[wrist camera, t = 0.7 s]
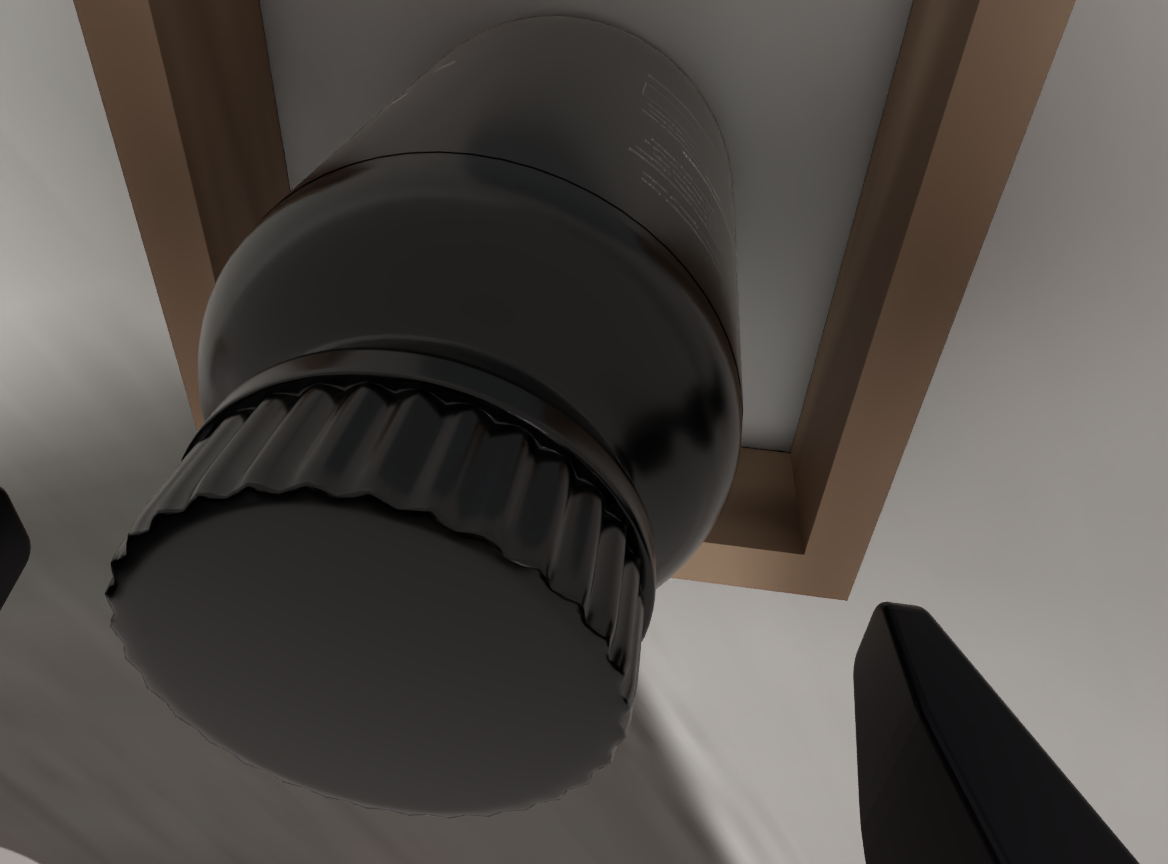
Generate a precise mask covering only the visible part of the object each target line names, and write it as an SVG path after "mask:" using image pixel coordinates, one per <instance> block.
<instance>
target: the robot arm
mask: <svg viewBox="0 0 1168 864" xmlns="http://www.w3.org/2000/svg"><path fill="white" fill-rule="evenodd" d="M30 549H31V545H30V539H29V536H28V534H27V532H26V530H25V528H24V526H23V524H22V522H21V520H20V518H19V516H18V514H17V512H16V510H15V508H14V506H13V504H12V502H11V500H10V498H9V496H8V494H7V493H6V491H5V490H4V489H3V488H2V487H0V610H1V608H2V606H3V605H4V603H5V601H6V599H7V598H8V596H9V594H10V592H11V590H12V589H13V587H14V585H15V583H16V582H17V580H18V578H19V576H20V574H21V573H22V571H23V569H24V567H25V565H26V563H27V561H28V559H29V555H30ZM853 679H854V701H855V722H856V744H857V765H858V786H859V806H860V821H861V832H862V839H863V847H864V854H865V861H866V864H1139V862H1138V861H1137V860H1136V859H1135V858H1134V856H1133V855H1132V854H1131V853H1130V852H1129V851H1128V849H1127V848H1126V847H1125V846H1124V845H1123V843H1122V842H1121V841H1120V840H1119V839H1118V837H1117V836H1116V835H1115V834H1114V833H1113V831H1112V830H1111V829H1110V828H1109V827H1108V825H1107V824H1106V823H1105V822H1104V821H1103V820H1102V818H1101V817H1100V816H1099V815H1098V814H1097V812H1096V811H1095V810H1094V809H1093V808H1092V806H1091V805H1090V804H1089V803H1088V802H1087V800H1086V799H1085V798H1084V797H1083V796H1082V794H1081V793H1080V792H1079V791H1078V790H1077V789H1076V787H1075V786H1074V785H1073V784H1072V783H1071V781H1070V780H1069V779H1068V778H1067V777H1066V775H1065V774H1064V773H1063V772H1062V771H1061V769H1060V768H1059V767H1058V766H1057V765H1056V763H1055V762H1054V761H1053V760H1052V759H1051V757H1050V756H1049V755H1048V754H1047V753H1046V752H1045V750H1044V749H1043V748H1042V747H1041V746H1040V744H1039V743H1038V742H1037V741H1036V740H1035V738H1034V737H1033V736H1032V735H1031V734H1030V732H1029V731H1028V730H1027V729H1026V728H1025V726H1024V725H1023V724H1022V723H1021V722H1020V721H1019V719H1018V718H1017V717H1016V716H1015V715H1014V713H1013V712H1012V711H1011V710H1010V709H1009V707H1008V706H1007V705H1006V704H1005V703H1004V701H1003V700H1002V699H1001V698H1000V697H999V695H998V694H997V693H996V692H995V691H994V690H993V688H992V687H991V686H990V685H989V684H988V682H987V681H986V680H985V679H984V678H983V676H982V675H981V674H980V673H979V672H978V670H977V669H976V668H975V667H974V666H973V664H972V663H971V662H970V661H969V660H968V658H967V657H966V656H965V655H964V654H963V653H962V651H961V650H960V649H959V648H958V647H957V645H956V644H955V643H954V642H953V641H952V639H951V638H950V637H949V636H948V635H947V633H946V632H945V631H944V630H943V629H942V627H941V626H940V625H939V624H938V623H937V622H936V620H935V619H934V618H933V617H932V616H931V614H930V613H929V612H928V611H926V610H925V609H924V608H922V607H919V606H915V605H907V604H900V603H892V602H882V603H880V604H879V605H878V606H877V607H876V608H875V610H874V612H873V614H872V617H871V619H870V622H869V624H868V627H867V629H866V631H865V634H864V636H863V639H862V641H861V644H860V646H859V648H858V651H857V654H856V657H855V662H854V673H853Z"/></svg>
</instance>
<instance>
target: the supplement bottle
mask: <svg viewBox="0 0 1168 864" xmlns="http://www.w3.org/2000/svg"><path fill="white" fill-rule="evenodd" d="M198 385H199V395H200V405H201V409H202V414H203V419H204V424H203V425H202V426H201V428H200V429H199V430H198V431H197V433H196V434H195V435H194V437H193V438H192V440H191V441H190V443H189V445H188V447H187V448H186V450H185V452H184V455H183V457H182V459H181V462H180V464H179V465H178V467H177V468H176V469H175V470H174V471H173V473H172V474H171V475H170V476H169V477H168V479H167V480H166V481H165V482H164V483H163V485H162V486H161V487H160V488H159V489H158V491H157V492H156V493H155V494H154V496H153V497H152V498H151V499H150V500H149V502H148V503H147V504H146V505H145V507H144V508H143V509H142V510H141V512H140V513H139V514H138V516H137V517H136V519H135V520H134V522H133V524H132V526H131V529H130V531H129V533H128V535H127V536H126V537H125V538H124V540H123V541H122V542H121V544H120V545H119V547H118V548H117V550H116V552H115V554H114V556H113V559H112V561H111V569H112V575H113V577H112V579H111V581H110V583H109V585H108V587H107V589H106V592H105V596H106V598H107V601H108V603H109V605H110V607H111V609H112V611H113V613H114V614H113V616H112V618H111V624H110V627H111V628H112V630H113V631H114V632H115V634H116V635H117V636H118V637H119V639H120V640H121V641H122V643H123V644H124V655H125V659H126V660H127V661H128V662H129V663H130V664H131V665H132V666H134V667H135V668H136V669H137V670H138V671H139V672H140V673H141V674H142V677H143V680H144V682H145V685H146V687H147V689H149V690H150V691H151V692H153V693H154V694H155V695H156V696H158V697H159V698H160V699H162V700H163V701H164V702H166V703H167V705H168V707H169V708H170V710H171V711H172V713H173V714H174V715H175V717H177V718H179V719H180V720H182V721H184V722H185V723H187V724H188V725H190V726H192V727H193V728H195V729H196V730H197V731H198V732H199V733H200V734H201V735H202V736H203V737H204V738H205V739H206V740H207V741H208V742H210V743H212V744H214V745H216V746H218V747H220V748H222V749H224V750H226V751H228V752H230V753H231V754H233V755H234V756H235V757H236V758H238V759H239V760H240V761H242V762H243V763H244V764H246V765H249V766H252V767H254V768H257V769H260V770H262V771H265V772H267V773H269V774H271V775H272V776H274V777H276V778H277V779H279V780H281V781H282V782H284V783H287V784H291V785H294V786H298V787H302V788H306V789H308V790H310V791H312V792H314V793H316V794H319V795H321V796H323V797H325V798H330V799H336V800H342V801H347V802H350V803H353V804H355V805H358V806H361V807H364V808H367V809H378V810H389V811H392V812H396V813H400V814H404V815H408V816H415V815H431V816H437V817H443V818H450V819H451V818H456V817H461V816H484V817H491V816H494V815H497V814H499V813H501V812H507V811H526V810H528V809H530V808H532V807H533V806H534V805H536V804H537V803H542V802H549V801H555V800H559V799H561V798H562V797H563V796H564V795H565V793H566V792H567V791H568V790H570V789H574V788H577V787H580V786H583V785H586V784H588V783H589V781H590V780H591V778H592V775H593V772H595V771H597V770H599V769H602V768H604V767H605V766H607V765H609V764H611V762H612V759H613V757H614V754H615V750H616V746H617V745H618V744H620V743H621V742H622V741H623V740H624V739H625V738H626V736H627V733H628V730H629V728H630V724H631V719H632V712H633V702H634V697H635V694H636V689H637V682H638V672H639V662H640V651H641V642H642V641H643V639H644V637H645V634H646V632H647V629H648V627H649V624H650V620H651V617H652V612H653V607H654V601H655V590H656V589H657V588H658V587H660V586H661V585H662V584H663V583H665V582H666V581H667V580H668V579H670V578H671V577H672V576H673V575H674V574H675V573H676V572H677V571H678V570H679V569H680V568H681V567H682V566H683V565H684V564H685V563H686V562H687V561H688V560H689V559H690V558H691V557H692V555H693V554H694V553H695V552H696V550H697V549H698V548H699V547H700V545H701V544H702V543H703V542H704V540H705V539H706V538H707V536H708V535H709V533H710V531H711V530H712V528H713V526H714V525H715V523H716V522H717V520H718V518H719V517H720V515H721V513H722V510H723V508H724V506H725V504H726V502H727V500H728V497H729V494H730V492H731V488H732V485H733V482H734V479H735V476H736V472H737V467H738V462H739V456H740V449H741V434H742V417H743V395H742V372H741V349H740V326H739V304H738V281H737V258H736V236H735V213H734V197H733V187H732V176H731V170H730V164H729V159H728V155H727V152H726V148H725V144H724V141H723V138H722V135H721V133H720V130H719V128H718V125H717V122H716V120H715V118H714V116H713V115H712V113H711V111H710V109H709V107H708V105H707V103H706V102H705V100H704V99H703V97H702V96H701V94H700V93H699V91H698V90H697V89H696V87H695V86H694V85H693V84H692V82H691V81H690V80H689V79H688V77H687V76H686V75H685V74H684V73H683V72H682V71H681V70H680V69H679V68H678V67H677V66H676V65H675V64H674V63H673V62H672V61H670V60H669V59H668V58H667V57H666V56H664V55H663V54H662V53H661V52H660V51H658V50H657V49H655V48H654V47H652V46H651V45H649V44H648V43H646V42H645V41H643V40H641V39H639V38H637V37H635V36H633V35H632V34H630V33H628V32H626V31H623V30H621V29H618V28H616V27H613V26H610V25H608V24H604V23H600V22H597V21H593V20H589V19H583V18H576V17H567V16H541V17H531V18H525V19H519V20H515V21H512V22H508V23H505V24H501V25H498V26H496V27H494V28H491V29H489V30H486V31H484V32H482V33H480V34H478V35H476V36H474V37H472V38H471V39H469V40H467V41H465V42H464V43H462V44H461V45H459V46H458V47H457V48H455V49H454V50H453V51H451V52H450V53H449V54H447V55H446V56H445V57H443V58H442V59H441V60H440V61H438V62H437V63H436V64H435V65H433V66H432V67H431V68H430V69H429V70H428V71H427V72H426V73H424V74H423V75H422V76H421V77H420V78H419V79H418V80H416V81H415V82H414V83H413V84H412V85H411V86H410V87H409V88H407V89H406V90H405V91H404V92H403V93H402V94H401V95H399V96H398V97H397V98H396V99H395V100H394V101H393V102H392V103H390V104H389V105H388V106H387V107H386V108H385V109H384V110H383V111H381V112H380V113H379V114H378V115H377V116H376V117H375V118H373V119H372V120H371V121H370V122H369V123H368V124H367V125H366V126H364V127H363V128H362V129H361V130H360V131H359V132H358V133H356V134H355V135H354V136H353V137H352V138H351V139H350V140H349V141H347V142H346V143H345V144H344V145H343V146H342V147H341V148H340V149H338V150H337V151H336V152H335V153H334V154H333V155H332V156H330V157H329V158H328V159H327V160H326V161H325V162H324V163H323V164H321V165H320V166H319V167H318V168H317V169H316V170H315V171H314V172H312V173H311V174H310V175H309V176H308V177H307V178H306V179H304V180H303V181H302V182H301V183H300V184H299V185H298V186H297V187H295V188H294V189H293V190H292V191H291V192H290V193H289V194H288V195H287V196H285V197H284V198H283V199H282V200H281V201H280V202H279V203H278V204H277V205H276V206H275V207H273V208H272V209H271V210H270V211H269V212H268V213H267V214H266V215H265V216H264V217H263V218H262V219H261V220H260V222H259V223H258V224H256V226H255V227H254V228H253V229H252V230H251V231H250V232H249V234H248V235H247V236H246V237H245V238H244V240H243V241H242V242H241V243H240V244H239V246H238V247H237V248H236V249H235V250H234V252H233V253H232V255H231V256H230V258H229V259H228V261H227V263H226V264H225V266H224V267H223V269H222V271H221V273H220V275H219V277H218V279H217V282H216V284H215V286H214V288H213V291H212V293H211V295H210V297H209V300H208V304H207V307H206V311H205V314H204V318H203V322H202V328H201V334H200V341H199V348H198Z"/></svg>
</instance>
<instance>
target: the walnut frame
mask: <svg viewBox="0 0 1168 864" xmlns="http://www.w3.org/2000/svg"><path fill="white" fill-rule="evenodd" d="M73 1H74V4H75V8H76V11H77V15H78V18H79V22H80V25H81V29H82V32H83V36H84V39H85V43H86V46H87V50H88V53H89V56H90V60H91V63H92V67H93V70H94V74H95V77H96V81H97V84H98V88H99V91H100V95H101V98H102V102H103V105H104V109H105V112H106V116H107V119H108V122H109V126H110V129H111V133H112V136H113V140H114V143H115V147H116V150H117V154H118V157H119V161H120V164H121V168H122V171H123V175H124V178H125V182H126V185H127V188H128V192H129V195H130V199H131V202H132V206H133V209H134V213H135V216H136V220H137V223H138V227H139V230H140V234H141V237H142V241H143V244H144V248H145V251H146V254H147V258H148V261H149V265H150V268H151V272H152V275H153V279H154V282H155V286H156V289H157V293H158V296H159V300H160V303H161V307H162V310H163V314H164V317H165V320H166V324H167V327H168V331H169V334H170V338H171V341H172V345H173V348H174V352H175V355H176V359H177V362H178V366H179V369H180V373H181V376H182V380H183V383H184V386H185V390H186V393H187V397H188V400H189V404H190V407H191V411H192V414H193V418H194V421H195V425H196V428H197V431H198V430H199V429H200V428H201V426H202V425H203V424H204V419H203V414H202V409H201V405H200V395H199V385H198V348H199V341H200V334H201V328H202V322H203V318H204V314H205V311H206V307H207V304H208V300H209V297H210V295H211V293H212V291H213V288H214V286H215V284H216V282H217V279H218V277H219V275H220V273H221V271H222V269H223V267H224V266H225V264H226V263H227V261H228V259H229V258H230V256H231V255H232V253H233V252H234V250H235V249H236V248H237V247H238V246H239V244H240V243H241V242H242V241H243V240H244V238H245V237H246V236H247V235H248V234H249V232H250V231H251V230H252V229H253V228H254V227H255V226H256V224H258V223H259V222H260V220H261V219H262V218H263V217H264V216H265V215H266V214H267V213H268V212H269V211H270V210H271V209H272V208H273V207H275V206H276V205H277V204H278V203H279V202H280V201H281V200H282V199H283V198H284V197H285V196H287V195H288V194H289V193H290V188H289V182H288V176H287V170H286V164H285V158H284V152H283V146H282V140H281V133H280V127H279V121H278V115H277V109H276V103H275V97H274V91H273V85H272V79H271V73H270V67H269V60H268V54H267V48H266V42H265V36H264V30H263V24H262V18H261V12H260V6H259V0H73ZM1075 1H1076V0H914V2H913V5H912V9H911V13H910V16H909V20H908V24H907V27H906V31H905V35H904V38H903V42H902V46H901V49H900V53H899V57H898V60H897V64H896V68H895V71H894V75H893V79H892V82H891V86H890V90H889V93H888V97H887V101H886V104H885V108H884V112H883V115H882V119H881V123H880V126H879V130H878V134H877V137H876V141H875V145H874V148H873V152H872V156H871V159H870V163H869V167H868V170H867V174H866V178H865V181H864V185H863V189H862V192H861V196H860V200H859V203H858V207H857V211H856V214H855V218H854V222H853V225H852V229H851V233H850V236H849V240H848V244H847V247H846V251H845V255H844V258H843V262H842V266H841V269H840V273H839V277H838V280H837V284H836V288H835V291H834V295H833V299H832V302H831V306H830V310H829V313H828V317H827V321H826V324H825V328H824V332H823V335H822V339H821V343H820V346H819V350H818V354H817V357H816V361H815V365H814V368H813V372H812V376H811V379H810V383H809V387H808V390H807V394H806V398H805V401H804V405H803V409H802V412H801V416H800V420H799V423H798V427H797V431H796V434H795V438H794V442H793V445H792V449H791V453H784V452H775V451H767V450H759V449H750V448H742V447H741V449H740V456H739V462H738V467H737V472H736V476H735V479H734V482H733V485H732V488H731V492H730V494H729V497H728V500H727V502H726V504H725V506H724V508H723V510H722V513H721V515H720V517H719V518H718V520H717V522H716V523H715V525H714V526H713V528H712V530H711V531H710V533H709V535H708V536H707V538H706V539H705V540H704V542H703V543H702V544H701V545H700V547H699V548H698V549H697V550H696V552H695V553H694V554H693V555H692V557H691V558H690V559H689V560H688V561H687V562H686V563H685V564H684V565H683V566H682V567H681V568H680V569H679V570H678V571H677V572H676V573H675V574H674V575H673V576H672V577H671V578H678V579H685V580H693V581H701V582H708V583H716V584H723V585H731V586H739V587H746V588H754V589H762V590H769V591H777V592H785V593H792V594H800V595H808V596H815V597H823V598H830V599H838V600H846V601H847V600H848V597H849V594H850V592H851V589H852V587H853V584H854V581H855V579H856V576H857V573H858V571H859V568H860V566H861V563H862V560H863V558H864V555H865V552H866V550H867V547H868V544H869V542H870V539H871V537H872V534H873V531H874V529H875V526H876V523H877V521H878V518H879V516H880V513H881V510H882V508H883V505H884V502H885V500H886V497H887V495H888V492H889V489H890V487H891V484H892V481H893V479H894V476H895V474H896V471H897V468H898V466H899V463H900V460H901V458H902V455H903V453H904V450H905V447H906V445H907V442H908V439H909V437H910V434H911V432H912V429H913V426H914V424H915V421H916V418H917V416H918V413H919V411H920V408H921V405H922V403H923V400H924V397H925V395H926V392H927V390H928V387H929V384H930V382H931V379H932V376H933V374H934V371H935V368H936V366H937V363H938V361H939V358H940V355H941V353H942V350H943V347H944V345H945V342H946V340H947V337H948V334H949V332H950V329H951V326H952V324H953V321H954V319H955V316H956V313H957V311H958V308H959V305H960V303H961V300H962V298H963V295H964V292H965V290H966V287H967V284H968V282H969V279H970V277H971V274H972V271H973V269H974V266H975V263H976V261H977V258H978V256H979V253H980V250H981V248H982V245H983V242H984V240H985V237H986V235H987V232H988V229H989V227H990V224H991V221H992V219H993V216H994V213H995V211H996V208H997V206H998V203H999V200H1000V198H1001V195H1002V192H1003V190H1004V187H1005V185H1006V182H1007V179H1008V177H1009V174H1010V171H1011V169H1012V166H1013V164H1014V161H1015V158H1016V156H1017V153H1018V150H1019V148H1020V145H1021V143H1022V140H1023V137H1024V135H1025V132H1026V129H1027V127H1028V124H1029V122H1030V119H1031V116H1032V114H1033V111H1034V108H1035V106H1036V103H1037V101H1038V98H1039V95H1040V93H1041V90H1042V87H1043V85H1044V82H1045V80H1046V77H1047V74H1048V72H1049V69H1050V66H1051V64H1052V61H1053V58H1054V56H1055V53H1056V51H1057V48H1058V45H1059V43H1060V40H1061V37H1062V35H1063V32H1064V30H1065V27H1066V24H1067V22H1068V19H1069V16H1070V14H1071V11H1072V9H1073V6H1074V3H1075Z"/></svg>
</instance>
